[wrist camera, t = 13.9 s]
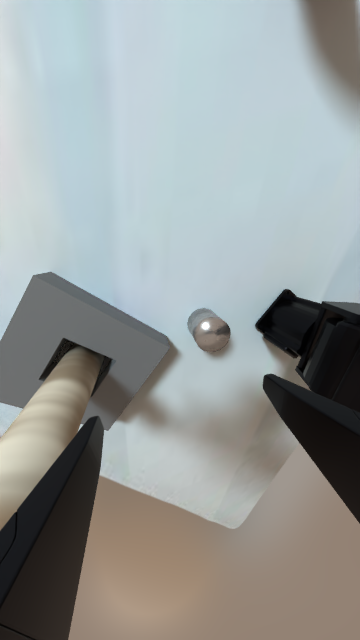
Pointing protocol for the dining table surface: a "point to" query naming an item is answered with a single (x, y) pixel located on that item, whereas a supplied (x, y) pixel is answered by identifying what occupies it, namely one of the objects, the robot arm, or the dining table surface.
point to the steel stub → (208, 330)
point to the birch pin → (45, 426)
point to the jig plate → (84, 329)
